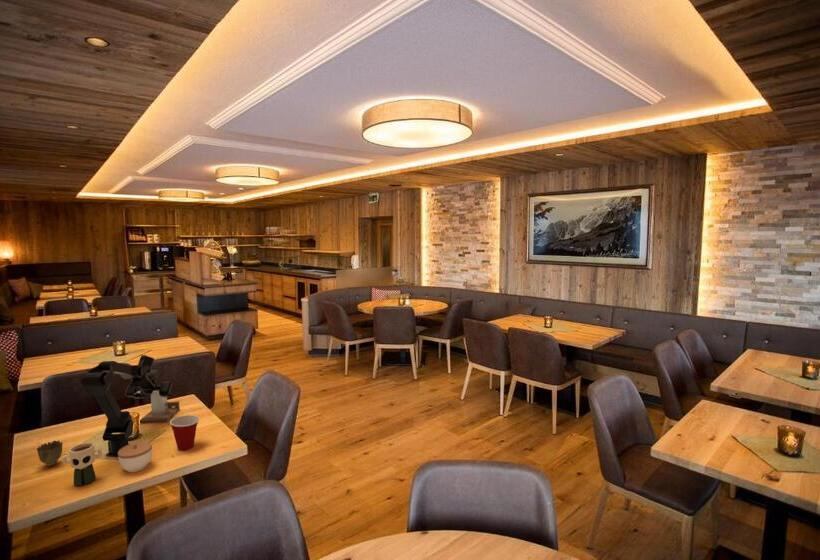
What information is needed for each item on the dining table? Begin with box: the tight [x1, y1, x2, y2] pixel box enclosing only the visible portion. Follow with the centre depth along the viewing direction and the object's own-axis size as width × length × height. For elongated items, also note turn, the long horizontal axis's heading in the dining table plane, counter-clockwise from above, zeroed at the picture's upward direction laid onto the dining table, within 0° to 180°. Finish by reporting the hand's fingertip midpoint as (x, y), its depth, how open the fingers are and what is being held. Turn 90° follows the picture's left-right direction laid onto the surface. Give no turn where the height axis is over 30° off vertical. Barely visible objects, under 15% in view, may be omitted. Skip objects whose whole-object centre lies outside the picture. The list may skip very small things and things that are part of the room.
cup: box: [36, 440, 63, 468], centre depth 160 cm, size 8×7×8 cm
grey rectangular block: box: [150, 390, 168, 416], centre depth 202 cm, size 5×5×12 cm
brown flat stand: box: [140, 401, 181, 425], centre depth 202 cm, size 14×12×5 cm
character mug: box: [62, 441, 103, 486], centre depth 148 cm, size 11×7×13 cm, turn 119°
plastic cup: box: [169, 414, 200, 451], centre depth 172 cm, size 11×11×12 cm
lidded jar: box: [117, 441, 153, 473], centre depth 157 cm, size 11×11×9 cm
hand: (156, 397), depth 199 cm, fingers open, 9 cm apart
